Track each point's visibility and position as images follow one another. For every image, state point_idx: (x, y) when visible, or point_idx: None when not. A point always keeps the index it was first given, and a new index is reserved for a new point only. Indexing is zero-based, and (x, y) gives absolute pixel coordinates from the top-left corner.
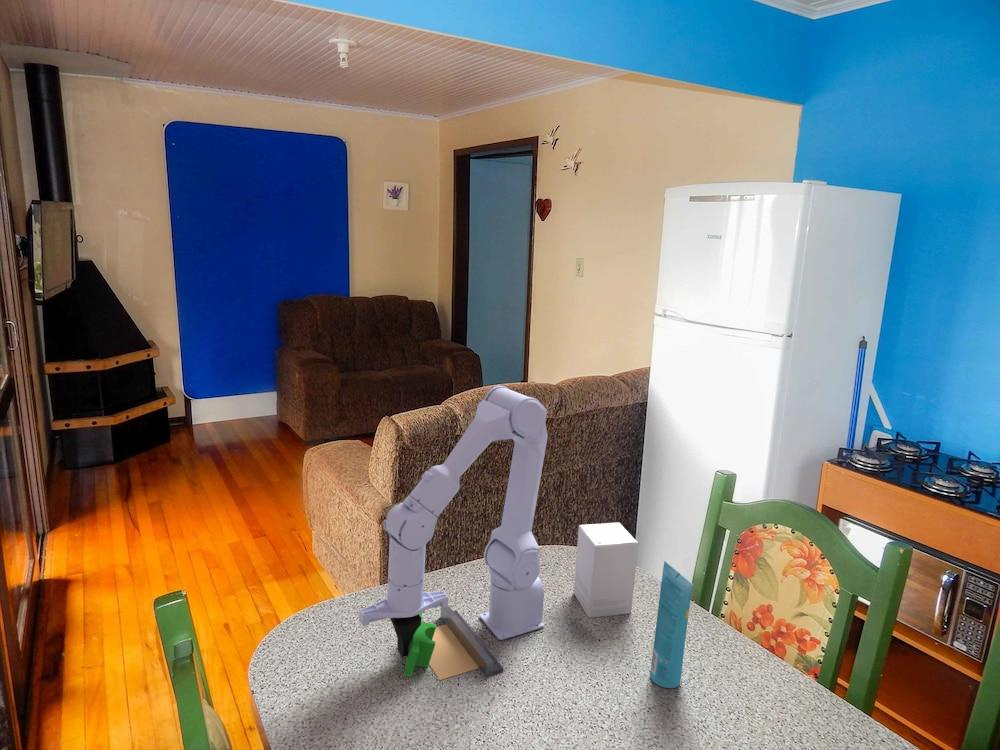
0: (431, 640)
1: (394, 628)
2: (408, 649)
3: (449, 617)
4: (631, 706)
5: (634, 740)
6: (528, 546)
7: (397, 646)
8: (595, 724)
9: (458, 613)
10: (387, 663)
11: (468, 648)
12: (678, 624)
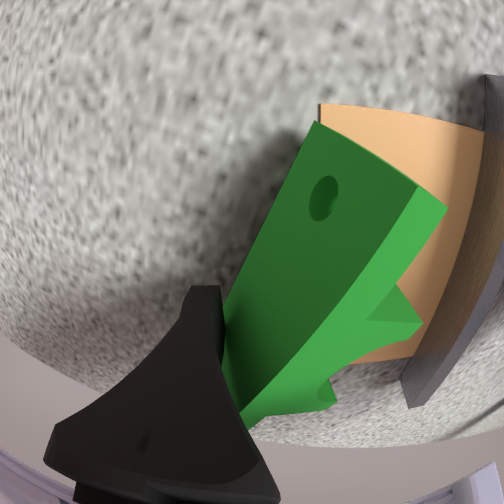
0: (324, 401)
1: (140, 366)
2: (221, 362)
3: None
4: (467, 418)
5: (425, 443)
6: None
7: (187, 293)
8: (421, 435)
9: None
10: (161, 253)
11: (443, 322)
12: None
